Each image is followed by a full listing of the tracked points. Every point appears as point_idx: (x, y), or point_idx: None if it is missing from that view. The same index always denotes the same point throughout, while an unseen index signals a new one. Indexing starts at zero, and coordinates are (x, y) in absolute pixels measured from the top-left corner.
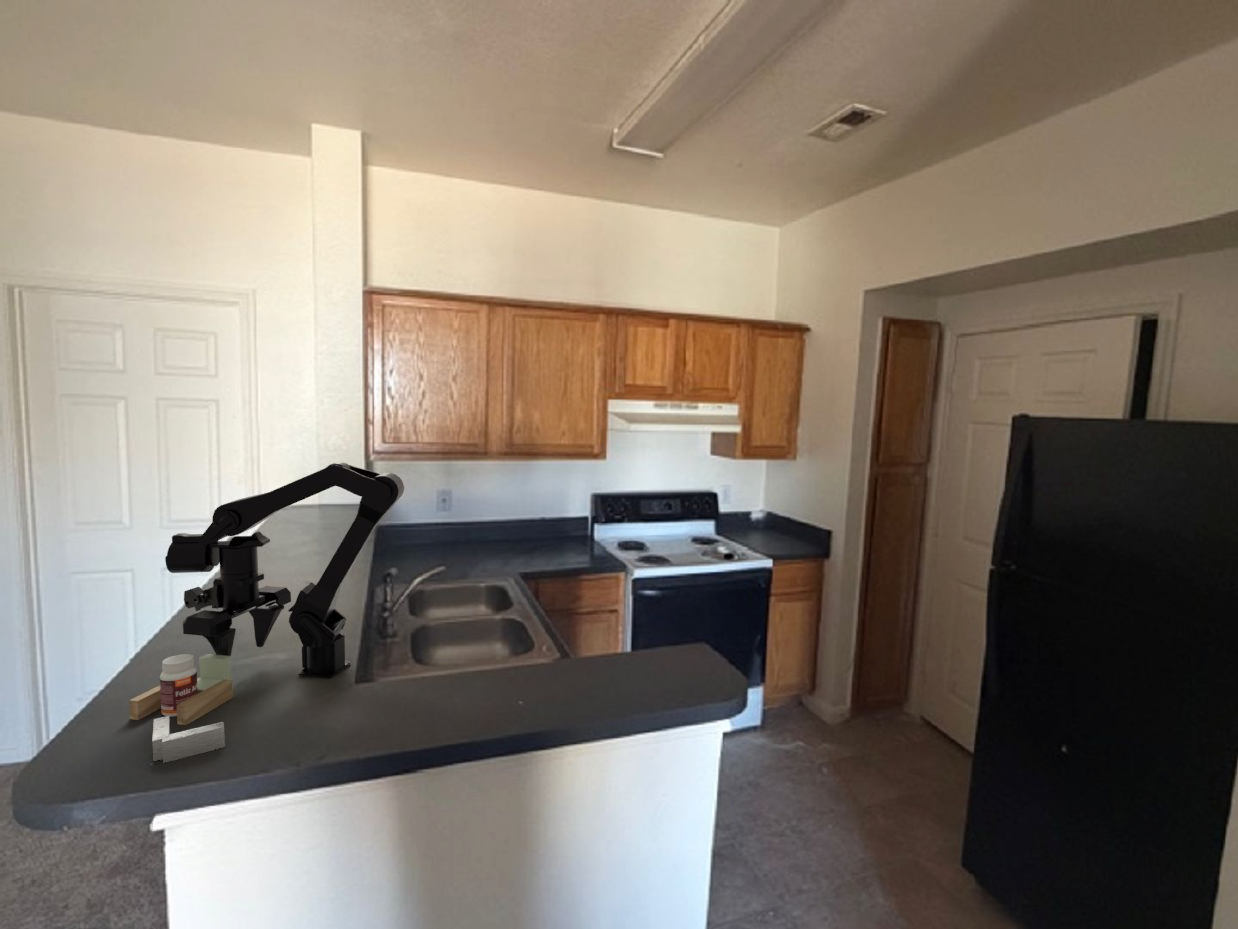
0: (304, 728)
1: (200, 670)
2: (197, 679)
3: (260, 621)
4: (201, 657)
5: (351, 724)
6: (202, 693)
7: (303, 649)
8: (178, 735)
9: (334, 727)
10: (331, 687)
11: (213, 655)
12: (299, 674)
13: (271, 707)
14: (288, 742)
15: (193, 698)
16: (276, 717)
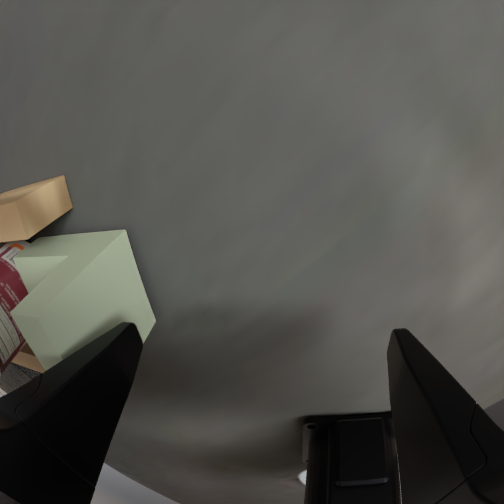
0: (144, 460)
1: (51, 275)
2: (58, 261)
3: (429, 497)
4: (16, 322)
5: (182, 484)
6: (35, 362)
7: (333, 479)
8: (2, 392)
9: (166, 477)
10: (268, 464)
11: (55, 359)
12: (303, 423)
13: (153, 424)
14: (114, 452)
15: (19, 357)
16: (138, 436)
